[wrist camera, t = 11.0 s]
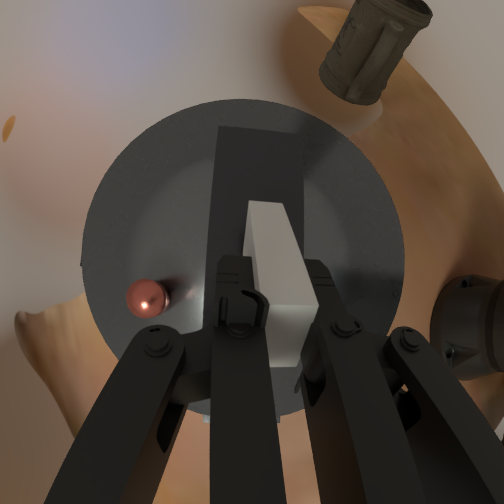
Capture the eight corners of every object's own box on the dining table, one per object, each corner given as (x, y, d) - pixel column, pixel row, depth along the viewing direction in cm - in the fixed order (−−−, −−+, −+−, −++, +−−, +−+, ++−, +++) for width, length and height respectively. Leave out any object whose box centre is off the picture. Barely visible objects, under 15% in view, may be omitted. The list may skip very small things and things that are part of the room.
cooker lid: (379, 133, 21) (400, 112, 18) (385, 399, 18) (412, 412, 14) (122, 108, 19) (110, 80, 16) (87, 393, 16) (64, 408, 12)
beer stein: (319, 51, 40) (357, -37, 21) (375, 71, 41) (427, -4, 21) (313, 115, 38) (369, 11, 18) (380, 137, 39) (457, 57, 19)
